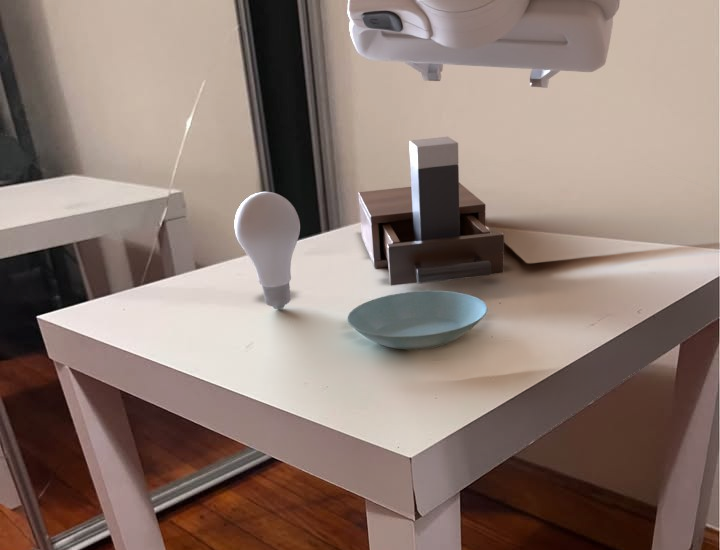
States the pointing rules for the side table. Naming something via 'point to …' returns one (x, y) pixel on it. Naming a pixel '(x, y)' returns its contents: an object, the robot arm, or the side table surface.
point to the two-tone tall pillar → (435, 188)
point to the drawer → (441, 253)
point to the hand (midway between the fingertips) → (486, 76)
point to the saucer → (417, 318)
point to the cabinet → (400, 214)
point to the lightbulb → (269, 242)
